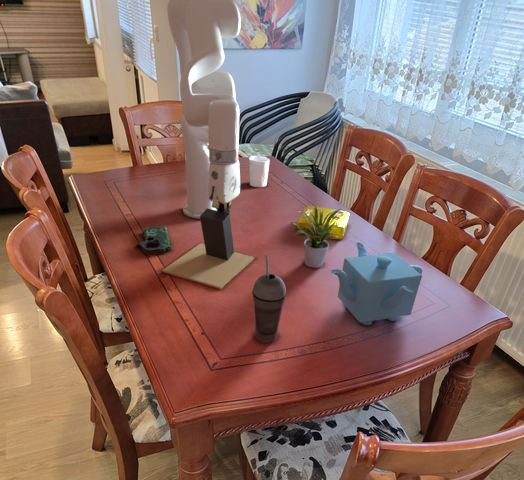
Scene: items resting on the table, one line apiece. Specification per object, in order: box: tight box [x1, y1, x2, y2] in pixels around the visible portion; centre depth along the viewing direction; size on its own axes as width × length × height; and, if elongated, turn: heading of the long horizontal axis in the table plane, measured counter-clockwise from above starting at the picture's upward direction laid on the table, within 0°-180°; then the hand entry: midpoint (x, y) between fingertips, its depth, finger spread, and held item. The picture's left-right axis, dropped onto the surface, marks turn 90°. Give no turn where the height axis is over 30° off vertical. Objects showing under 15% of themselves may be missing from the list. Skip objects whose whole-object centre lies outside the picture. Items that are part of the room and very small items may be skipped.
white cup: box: [248, 155, 270, 188], centre depth 184 cm, size 8×8×10 cm
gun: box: [135, 225, 172, 255], centre depth 140 cm, size 16×2×10 cm
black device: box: [199, 208, 235, 261], centre depth 130 cm, size 4×7×13 cm, turn 65°
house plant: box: [290, 204, 342, 269], centre depth 131 cm, size 14×14×16 cm
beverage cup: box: [251, 253, 287, 344], centre depth 99 cm, size 7×7×20 cm
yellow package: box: [297, 205, 350, 241], centre depth 154 cm, size 15×15×5 cm
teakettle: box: [329, 242, 423, 326], centre depth 112 cm, size 19×19×15 cm
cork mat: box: [162, 242, 255, 290], centre depth 131 cm, size 20×18×1 cm
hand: (223, 223), depth 130 cm, fingers closed
